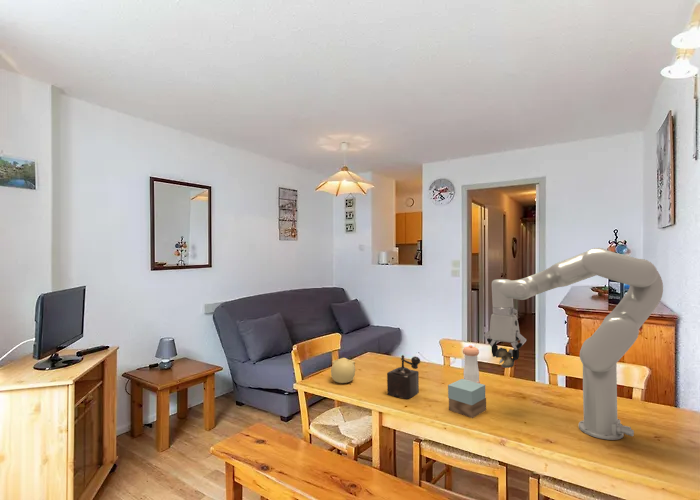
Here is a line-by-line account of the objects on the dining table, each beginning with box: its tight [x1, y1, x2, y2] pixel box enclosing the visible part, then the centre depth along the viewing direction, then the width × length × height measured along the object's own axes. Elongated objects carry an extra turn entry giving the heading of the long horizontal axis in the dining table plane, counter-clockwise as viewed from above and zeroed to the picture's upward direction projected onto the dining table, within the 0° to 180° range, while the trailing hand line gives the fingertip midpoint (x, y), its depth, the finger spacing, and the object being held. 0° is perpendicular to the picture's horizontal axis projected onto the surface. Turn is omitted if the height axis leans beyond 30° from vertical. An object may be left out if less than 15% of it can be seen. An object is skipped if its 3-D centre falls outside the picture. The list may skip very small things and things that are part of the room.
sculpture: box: [330, 357, 356, 384], centre depth 182 cm, size 11×12×11 cm
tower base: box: [448, 397, 487, 419], centre depth 146 cm, size 10×10×5 cm
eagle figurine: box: [495, 347, 515, 369], centre depth 143 cm, size 8×7×9 cm
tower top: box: [447, 378, 486, 405], centre depth 146 cm, size 10×10×5 cm
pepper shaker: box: [462, 344, 481, 384], centre depth 169 cm, size 7×7×19 cm
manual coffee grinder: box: [386, 354, 421, 400], centre depth 163 cm, size 16×11×18 cm
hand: (505, 357), depth 145 cm, fingers closed on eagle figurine, 7 cm apart
